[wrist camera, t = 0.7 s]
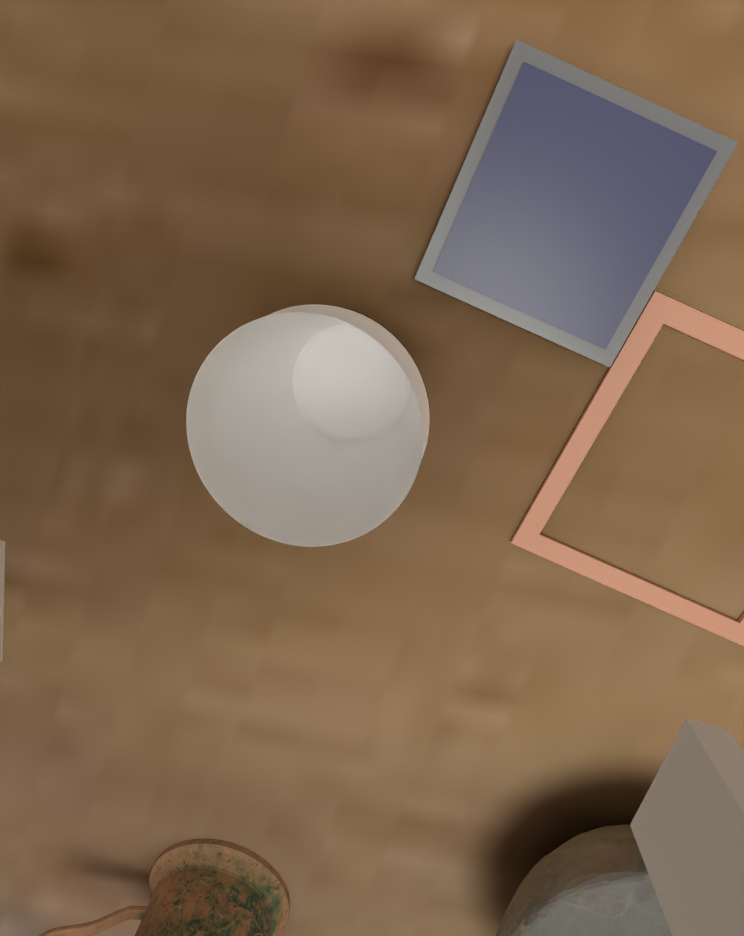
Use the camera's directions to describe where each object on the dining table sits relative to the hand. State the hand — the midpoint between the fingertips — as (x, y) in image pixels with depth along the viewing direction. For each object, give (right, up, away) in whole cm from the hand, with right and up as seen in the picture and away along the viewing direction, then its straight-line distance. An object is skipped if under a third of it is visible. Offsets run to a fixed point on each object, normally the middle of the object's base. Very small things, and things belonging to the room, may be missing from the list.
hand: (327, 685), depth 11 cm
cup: (0, +9, +21) cm, 23 cm away
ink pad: (+10, +17, +17) cm, 26 cm away
